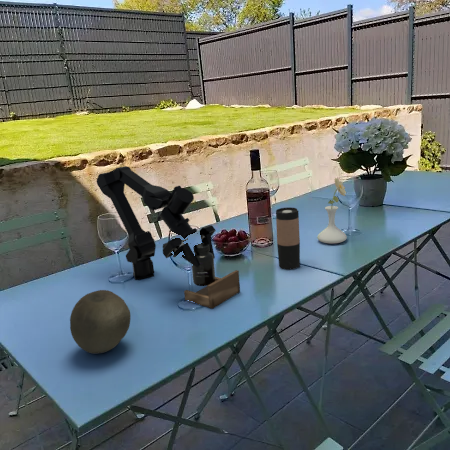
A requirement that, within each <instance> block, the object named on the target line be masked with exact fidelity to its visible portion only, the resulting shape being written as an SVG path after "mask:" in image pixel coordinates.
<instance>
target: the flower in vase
mask: <svg viewBox="0 0 450 450" xmlns="http://www.w3.org/2000/svg"><path fill="white" fill-rule="evenodd" d="M333 182H334V185H335V187H336V189H335V191H334V193H333V197H332V200H331V199H329V200H328V203H327V204H330V205H328V206H325V207H324V209H325V210H326V212H327V215H328V223H327V227H326V228H324V229H323V230H322V231H321V232H319V233H318V235H317V237H316V239H317V240H318V241H319V242H321V243H325V244H339V243H342V242H344V241H345V242H346V240H347V238H348V235H346V233H345V232H343V230H341V229H340V228H338V227H337V226H336V223H335V219H336V218H335V217H336V212H337V210H338V209H339V207H338V206H337V205H336V206H335V205H334V203H338V202H339V200H340V199H339V198H338V196H337V195H336V192H337V191H338V193H339V194H340V195H341V196H343V197H346V194H347V192H346V190H345V189H346V187H345V186H344V184H343V182H342V180H340V178H338V177H337V178H336V177H334V181H333ZM335 195H336V196H335Z"/></svg>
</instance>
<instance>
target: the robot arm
mask: <svg viewBox="0 0 450 450" xmlns="http://www.w3.org/2000/svg"><path fill="white" fill-rule="evenodd" d="M96 184H97V186H98V188H99V189H100V191H101V193H102V194H103V195H104V196H105V197H107V198H108V199H110V200H111V202H112V204H113V206H114V208H115V210H116V213H117V214H118V217H119V218H120V221H121V222H122V225H123V226H124V228H125V231H126V233H127V235H128V241H127V244H128V248H129V250H128V251H127V253H126V255H125V258H126V261H127V262H128V263H131V264H132V271H133V272H132V274H133V277H134V280H141V279H142V280H143V279H147V278H151V277H155V274H154V273H155V268H154V261H153V260H152V258H153V257H155V256H156V255H155V254H156V248H157V245H156V242H155V241H156V240H155V239H154V237H153V235H152V233H151V232H150V230H147V231H145V230H144V229H143V228H142V226H141V224H140V222H139V220H138V219H137V216H136V214H135V212H134V210H133V208H132V206H131V204H130V202H129V200H128V197H126V194H125V185H126V186H127V187H128V188H129V189H131V190H132V191H134V192H135V193H136V194H137V195H139V196H140V197H141V198H142V201H143V204H145V205H146V206H147V207H148V209H150V210H151V211H157V210H160V209H161V211H159V212H157V219H156V220H157V222H161V221H163V223H164V224H165V225H166V227H167V228H168V229H169V232H171V231H172V232H174V233H176V234H178V235H181V236H182V237H183V238H184V239H185V238H186V237H187V236H188V235H190V234H193V233H195V232H196V233H198V232H197V231H198V230H197V228H193V227H192V226H191V224H190V223H189V222H190V219H189V217H187V218H185V217H184V216H183V214H185V213H186V211H187V210H188V208H189V207H190V206H191V204H192V203H193V201H194V199H195V197H194V194H193V192H192V191H189V190H188V189H186V188H183V187H182V186H181V185H176V186H174V187H173V190H172V192H170V191H169V190H168V189H166V188H164V187H162V186H159V185H154V184H151V182H148V181H147V180H145V178H143V177H142V176H141V175H139V174H137V173H136V172H134V171H133V170H132V168H130V166H125V165H124V166H119V167H115V168H114V169H113V170H111V171H108V172H102V173H99V174H98V176H97V178H96ZM199 231H200V235H201V239H202V242H203V243H208V244H209V248H210V251H209V252H211V253H212V254H213V257H214V259H215V258H216V256H215V253H214V247H213V241H212V236H213V235H214V233H216V228H215V227H214V225H212V224H208V225H205V226H203V227H201V228H200V230H199ZM171 239H172V238H171ZM171 239H170V240H168V241H167V242H165V243H163V244H162V254H163V256H164V257H165V258H166V259H168V258H170V257H172V258H177V257H176V256H177V255H178V254H179V253H180V252H182V251H183V253H184V255H185V256H184V255H182V257H183V258H184V259H183V258H182V257H181V258H182V259H183V260H185V261H186V262H188V263H190V265H192V264H193V265H194V266H196V267H198V266H199V263H198V261H197V259H196V257H195V256H194V251H193V249H192V248H191V247H190V245H189V244H188V243H186V244H184V243H183V242H184V241H186V240H188V238H187V239H185V240H181V239H180V238H175V239H172V240H171ZM172 251H173V252H174V255H173V254H172V253H171V252H172ZM172 255H173V256H172Z"/></svg>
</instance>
